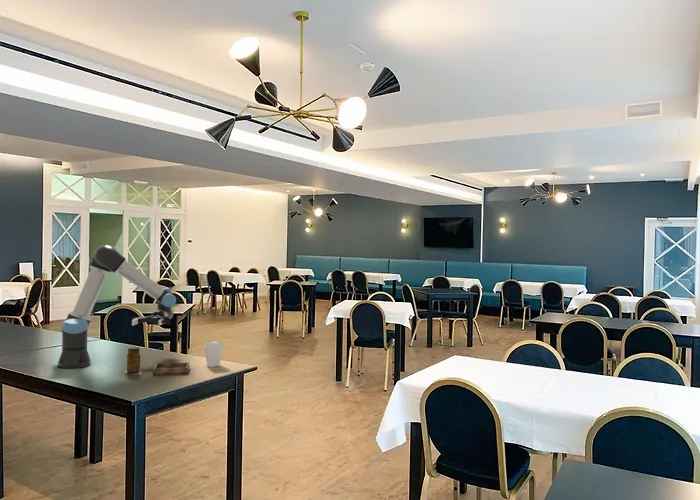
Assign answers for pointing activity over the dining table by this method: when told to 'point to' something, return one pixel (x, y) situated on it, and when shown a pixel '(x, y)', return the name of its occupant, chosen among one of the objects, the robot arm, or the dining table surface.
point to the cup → (213, 353)
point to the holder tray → (170, 368)
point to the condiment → (133, 361)
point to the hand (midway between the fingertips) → (145, 322)
